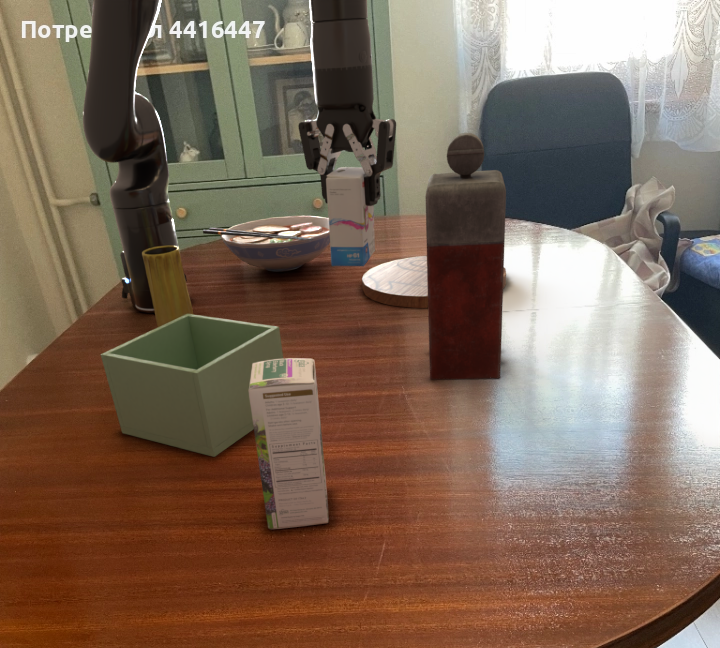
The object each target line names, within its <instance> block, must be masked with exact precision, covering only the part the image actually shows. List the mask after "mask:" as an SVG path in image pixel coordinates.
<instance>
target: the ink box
mask: <svg viewBox="0 0 720 648" xmlns="http://www.w3.org/2000/svg"><path fill="white" fill-rule="evenodd" d="M326 176H327V178H326V187H327V203H328V204H327V218H328V219H329V232H330V243H329V246H330V247H329V249H330V263H331V265H330V266H331V267H333V268H334V267H365V265H366V264H367V263H368V261H369V260H370V258H372V256H373V254H374V253H375V252H376V238H375V235H376V234H375V207H374V206H375V205H373V206H366V204H365V187H364V177H366V175H365V173H364V170H363V168H362V166H361V167H359V166H358V167H357V166H341V167H338V168H336V169H334V171H333V172H331V173H330V174H328V175H326Z"/></svg>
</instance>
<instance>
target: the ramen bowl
mask: <svg viewBox="0 0 720 648" xmlns="http://www.w3.org/2000/svg"><path fill="white" fill-rule="evenodd" d="M202 233H203V235H205V234H206V235H218V236H219V235H220V239H221V240H222V241H223V243H224V245H225V246H226V247H227V248H228V249H229V250H230V252H231V253H233V255H235V256H236V257H237V258H238V259H240V260H241V261H242V262H244V263H245V264H247V265H250V266H253V267H257V268H261V269H265V270H266V271H269V272H280V273H281V272H288V271H294V270H296V269H299V268H301V267H302V266H303V265H305V264H307V263H309V262H310V261H312V260H314V259H316V258H317V257H319V256H321V254H322V253H324V251H326V249H327V248H328V246H330V232H329V219H328V217H323V216H315V215H289V216H276V217H274V216H273V217H268V218H262V219H256V220H251V221H247V222H243V223H239V224H235V225H233V226H230V227H229V228H220V227H208V229H203V230H202Z"/></svg>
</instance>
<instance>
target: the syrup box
mask: <svg viewBox="0 0 720 648" xmlns="http://www.w3.org/2000/svg"><path fill="white" fill-rule="evenodd" d="M248 391H249V399H250V406H251V412H252V419H253V426H254V429H253V433H254V440H255V447H256V453H257V460H258V467H259V468H258V469H259V474H260V481H261V488H262V489H261V490H262V495H263V501H264V509H265V515H266V523H267V529H269V530H280V529H288V528H297V527H299V528H300V527H307V526H314V525H322V524H328V523H329V522H330V520H329V519H330V517H329V504H328V503H329V502H328V489H327V478H326V476H327V475H326V467H325V466H326V465H325V456H324V443H323V432H322V423H321V413H320V404H319V393H318V392H319V391H318V382H317V373H316V363H315V359H313V358H305V357H288V358H285V357H284V358H283V359H274V360H267V361H261V362H257V363H253V364H252V370H251V378H250V386H249V390H248Z"/></svg>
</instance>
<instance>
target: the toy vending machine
mask: <svg viewBox="0 0 720 648" xmlns="http://www.w3.org/2000/svg"><path fill="white" fill-rule="evenodd" d="M484 159H485V148H484V144H483V142H482V140H481V139H480V137H479V136H478V135H476V134H474V133H472V132H462V133H458V134H457V135H455V136H453V138H452V139H451V140H450V142H449V144H448V146H447V151H446V162H447V164H448V166H449V168H450V170H452V172H440V173H439V172H438V173H433V174H430V176H429V178H428V181H427V186H426V190H425V230H426V231H425V232H426V233H425V235H426V255H427V281H428V308H427V315H428V316H427V317H428V318H427V319H428V354H429V355H428V361H429V380H433V381H437V380H439V381H440V380H487V379H491V380H492V379H501V367H502V366H501V365H502V334H503V305H504V304H503V301H504V299H503V298H504V288H503V274H504V268H505V241H506V240H505V239H506V209H507V208H506V206H507V189H506V185H505V181H504V177H503V174H502V172H501V171H499V170H498V169H493V170H491V169H490V170H479V169H480V168H481V167H482V164H483V162H484Z"/></svg>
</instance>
